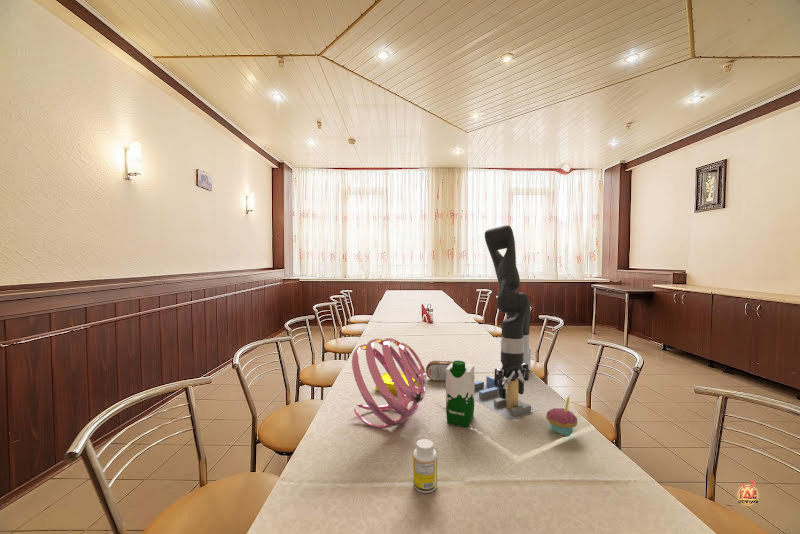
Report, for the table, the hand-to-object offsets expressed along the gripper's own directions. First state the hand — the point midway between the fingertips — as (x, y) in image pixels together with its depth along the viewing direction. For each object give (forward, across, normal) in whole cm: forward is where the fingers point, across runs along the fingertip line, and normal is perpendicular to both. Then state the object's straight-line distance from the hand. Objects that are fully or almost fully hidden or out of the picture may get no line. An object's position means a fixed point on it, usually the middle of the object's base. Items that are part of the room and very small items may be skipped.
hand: (511, 395), depth 114 cm
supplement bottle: (+6, +47, +17) cm, 50 cm away
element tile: (+6, +24, -38) cm, 46 cm away
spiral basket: (+6, +40, -15) cm, 43 cm away
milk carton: (+6, +20, -4) cm, 21 cm away
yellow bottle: (+4, 0, 0) cm, 4 cm away
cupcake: (+6, -2, +17) cm, 18 cm away
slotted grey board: (+5, 0, -8) cm, 9 cm away
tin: (+6, +4, -35) cm, 35 cm away
